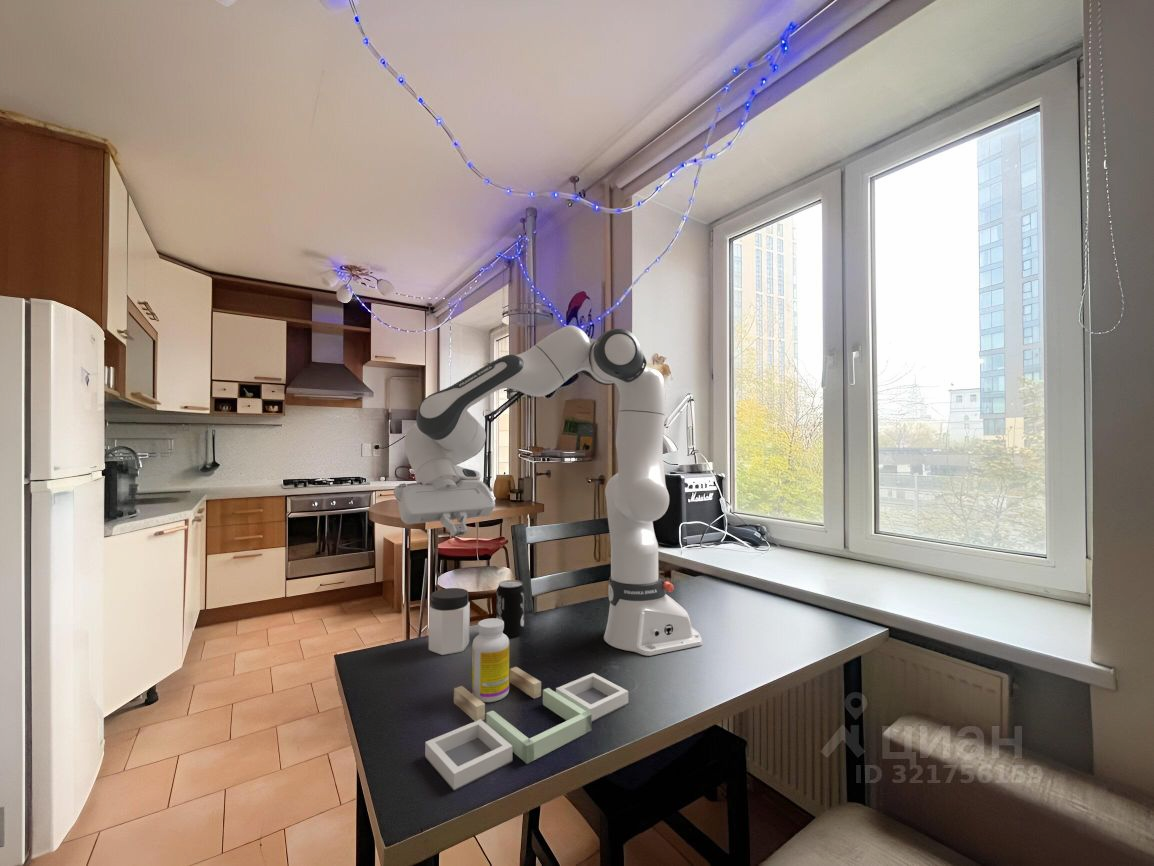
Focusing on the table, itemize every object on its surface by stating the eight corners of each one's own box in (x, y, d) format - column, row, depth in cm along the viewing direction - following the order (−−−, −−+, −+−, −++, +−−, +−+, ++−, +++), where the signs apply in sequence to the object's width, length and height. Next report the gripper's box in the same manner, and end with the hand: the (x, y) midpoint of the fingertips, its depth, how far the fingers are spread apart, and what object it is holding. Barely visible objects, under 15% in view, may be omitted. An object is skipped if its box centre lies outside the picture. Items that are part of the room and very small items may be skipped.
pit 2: (555, 700, 85) (555, 688, 85) (593, 684, 91) (593, 672, 91) (590, 722, 78) (590, 709, 79) (628, 703, 84) (628, 691, 84)
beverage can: (518, 639, 112) (519, 587, 113) (492, 637, 114) (492, 586, 114) (527, 629, 119) (527, 580, 119) (501, 627, 120) (502, 578, 120)
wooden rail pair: (453, 702, 84) (454, 688, 85) (516, 679, 93) (516, 666, 93) (476, 722, 78) (476, 707, 79) (541, 695, 87) (541, 681, 87)
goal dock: (486, 728, 77) (486, 712, 77) (548, 702, 85) (548, 687, 85) (526, 763, 68) (527, 745, 68) (591, 730, 76) (591, 714, 76)
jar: (438, 638, 113) (439, 586, 113) (472, 639, 112) (473, 587, 113) (423, 654, 104) (424, 598, 104) (460, 656, 103) (460, 599, 104)
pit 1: (425, 757, 70) (425, 741, 70) (480, 733, 76) (480, 719, 76) (454, 791, 63) (454, 773, 63) (512, 761, 69) (512, 746, 69)
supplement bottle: (516, 693, 88) (517, 622, 88) (487, 708, 83) (488, 632, 83) (493, 681, 92) (494, 613, 93) (464, 694, 87) (465, 622, 88)
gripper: (395, 474, 97) (414, 529, 89) (485, 471, 110) (508, 519, 103) (387, 494, 100) (404, 549, 93) (475, 489, 114) (496, 537, 106)
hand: (460, 533), depth 98 cm, fingers closed
